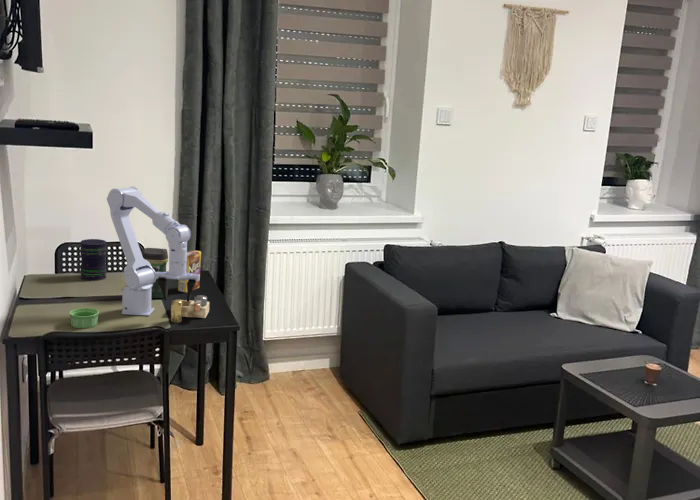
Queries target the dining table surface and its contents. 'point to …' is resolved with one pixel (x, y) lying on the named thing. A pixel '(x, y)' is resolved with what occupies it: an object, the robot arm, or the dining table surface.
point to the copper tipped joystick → (199, 302)
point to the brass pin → (176, 311)
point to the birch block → (188, 310)
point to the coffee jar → (156, 266)
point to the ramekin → (84, 317)
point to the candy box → (191, 269)
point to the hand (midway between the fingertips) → (177, 299)
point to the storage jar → (93, 259)
